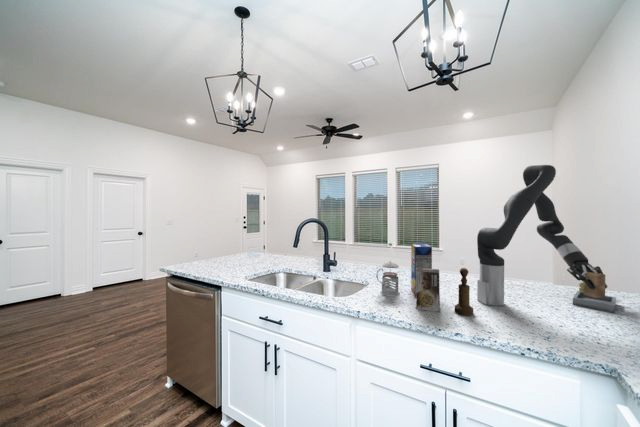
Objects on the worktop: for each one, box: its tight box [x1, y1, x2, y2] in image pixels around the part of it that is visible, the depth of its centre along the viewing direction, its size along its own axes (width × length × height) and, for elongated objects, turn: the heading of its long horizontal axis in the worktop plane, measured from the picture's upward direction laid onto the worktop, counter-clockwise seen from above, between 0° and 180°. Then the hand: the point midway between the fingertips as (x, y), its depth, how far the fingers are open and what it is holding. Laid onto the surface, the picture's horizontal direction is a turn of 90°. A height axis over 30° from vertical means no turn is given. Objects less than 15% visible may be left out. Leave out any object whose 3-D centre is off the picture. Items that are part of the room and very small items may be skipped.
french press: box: [375, 242, 401, 297], centre depth 131 cm, size 10×12×25 cm
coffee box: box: [415, 268, 441, 312], centre depth 111 cm, size 9×6×16 cm
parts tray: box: [572, 290, 617, 314], centre depth 115 cm, size 15×12×3 cm
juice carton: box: [410, 243, 433, 298], centre depth 130 cm, size 12×8×24 cm, turn 169°
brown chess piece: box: [454, 267, 474, 317], centre depth 106 cm, size 7×6×18 cm
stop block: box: [584, 272, 606, 298], centre depth 115 cm, size 4×4×10 cm
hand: (599, 288), depth 113 cm, fingers closed on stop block, 4 cm apart
